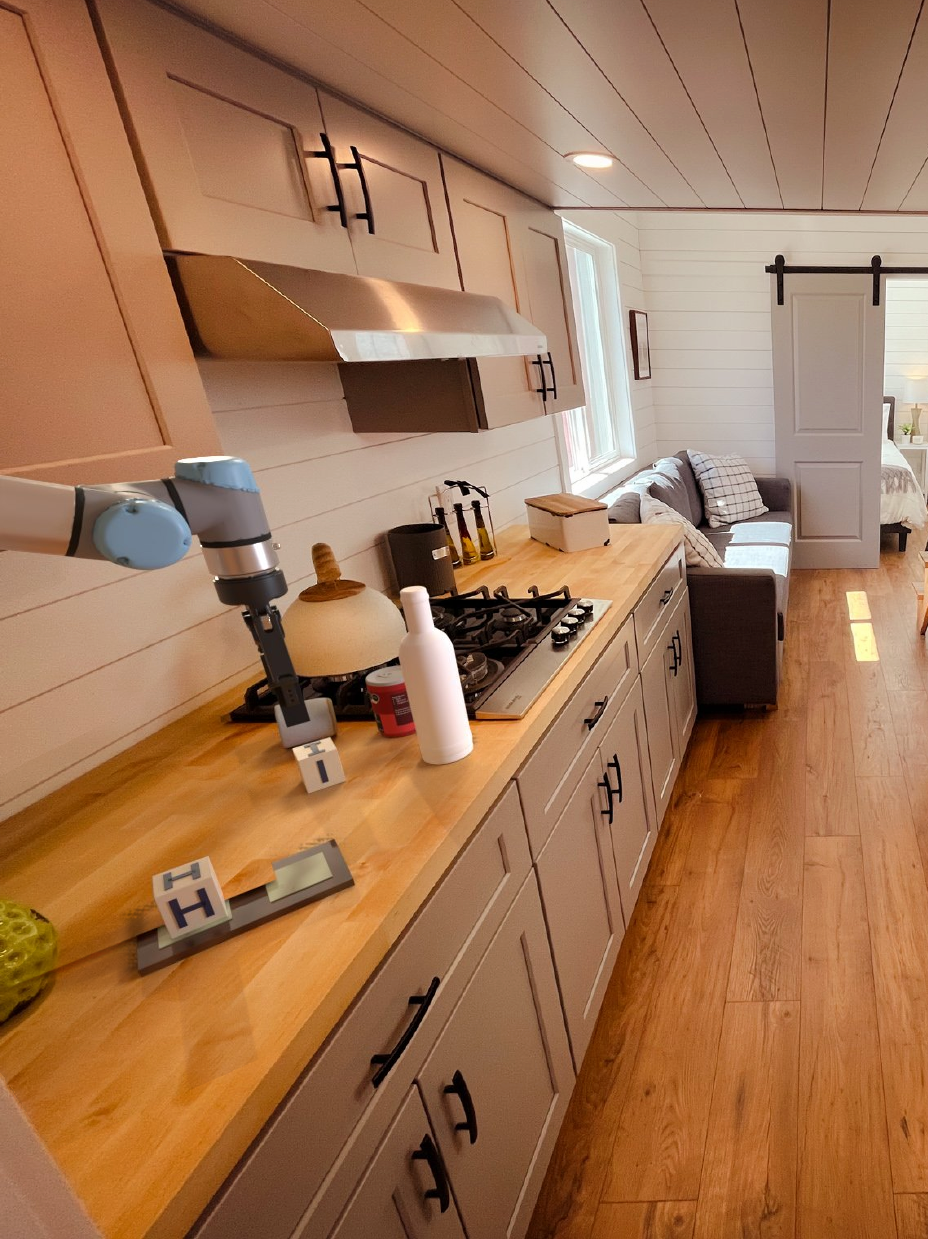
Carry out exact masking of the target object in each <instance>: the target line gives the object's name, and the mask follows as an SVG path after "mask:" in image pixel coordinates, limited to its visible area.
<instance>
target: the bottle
mask: <svg viewBox="0 0 928 1239" xmlns="http://www.w3.org/2000/svg"><path fill="white" fill-rule="evenodd" d="M399 595H400V598H399V601H400V603H401V604H402V609H403V613H404V618H405V621H406V622H405V623H406V627H407V631H408V632H406V634H405V635H404V636H403V637H402V638H401V640H400V642H399V647H398V654H397V656H398V660H399V664H400V665H399V666H401V669H402V673H403V677H404V682H405V686H406V690H407V694H408V699H409V703H410V707H411V711H412V716H413V720H414V724H415V728H416V732H415V734H416V736H417V740H418V748H419V752H420V754H421V758H422V761H424V762H425V763H427V764H430V765H434V766H435V765H436V766H438V765H439V766H440V765H441V766H442V765H448V764H451V763H454V762H457V761H460V760H462V759H464V758H465V757H467V756H468V755H469V754H471V753H472V751H473V749H474V742H473V734H472V730H471V728H470V723H469V717H468V713H467V708H466V702H465V697H464V693H463V688H462V684H461V679H460V678H461V677H460V674H459V669H458V664H457V658H456V654H455V649H454V644H453V643H452V641H451V639H450V638H449V636H448V634H447V633H445V632H444V631H442V630H440V629H438V628H437V627H436V626H435V625H434V624H435V623H434V619H433V614H432V609H431V605H430V604H431V603H430V600H429V599H430V595H429V593H428V591H427V588H426V587H425V586H421V585H414V586H407V587H404V588H402V589H401V590H400V591H399Z"/></svg>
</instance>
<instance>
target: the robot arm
mask: <svg viewBox="0 0 928 1239" xmlns="http://www.w3.org/2000/svg"><path fill="white" fill-rule="evenodd" d="M173 468H174V473H173V474H174V476H168V477H167V478H160V479H159V478H158V479H150V480H138V481H137V480H136V481H125V482H113V483H103V484H101V483H100V484H90V485H86V484H78V485H76V486H74V485H67V484H62V483H61V484H60V483H56V482H47V481H44V480H43V481H42V480H36V479H30V478H23V477H16V476H10V475H3V474H0V551H11V552H12V551H13V552H21V553H31V554H40V555H49V556H61V557H62V556H63V557H68V558H75V559H82V560H83V559H84V560H94V561H104V562H109V563H112V564H115V565H116V566H117V565H118V566H121V567H123V568H128V569H132V570H138V571H155V570H161V569H164V568H167V567H170V566H172V565H175V564H176V563H178V562H180V561H181V560H182V559H183V558H184V557H186V555H187V553H188V552H189V550H190V548H191V546H192V543H193V539H192V538H193V537H192V536H197V538H198V540H199V541H198V542H199V544H200V546H199V547H200V549H201V553H202V555H203V558H204V561H205V564H206V566H207V570H208V572H209V574H210V575H212V576H214V578H213V579H212V583H213V585H214V588H215V591H216V595H217V597H218V600H219V602H220V603H221V604H223V605H226V606H231V607H233V606H234V607H238V606H239V607H240V606H244V607H245V610H242V611H240V614H241V616H242V619H243V622H244V624H245V627H246V628H247V629H248V631H249V632H250V633H251V637H252V638H253V641H254V645H256V647H257V652H258V653H259V657H260V661H261V663H262V664H261V665H262V667H263V669H264V672H265V676H266V679H267V683H266V684H267V688H268V690H271V694H272V695H273V696H276V698H277V701H278V705H280V708H281V711H282V714H283V717H284V720H285V723H286V726H287V728H288V727H291V726H295V725H298V724H302V723H305V722H309V721H310V718H309V714H308V711H307V708H306V705H305V702H304V701H305V699H304V696H303V692H302V689H301V685H300V682H299V681H300V679H299V675H297V672H296V669H295V667H294V664H293V660H292V658H291V655H290V652H289V649H288V647H287V643H286V640H285V639H286V632H285V629H284V627H283V624H282V621H283V620H282V619H283V618H282V614H281V612H280V610H279V609H278V607H277V604H273V605H270V604H271V603H270V602H271V601H273V600H276V599H280V598H282V597H283V596H285V595H287V594H288V592H289V586H288V584H287V580H286V577H285V574H284V571H283V569H282V568H280V567H278V566H279V564H280V559H279V555H278V552H277V550H280V549H282V546H281V543H280V542H274V539H273V536H272V532H271V529H270V525H269V522H268V518H267V515H266V511H265V509H264V508H265V507H264V504H263V501H262V497H261V489H259V487H258V485H257V481H256V478H255V477H254V474H253V471H252V469H251V466H250V464H249V462H248V461H246V460H245V459H244V458H241V457H239V456H232V455H230V456H229V455H216V456H215V455H214V456H201V457H200V456H199V457H195V458H184V459H180V460H177V461H176V462H175V463H174V465H173Z"/></svg>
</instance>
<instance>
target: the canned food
mask: <svg viewBox="0 0 928 1239" xmlns="http://www.w3.org/2000/svg"><path fill="white" fill-rule="evenodd" d="M365 684H366V689H367V693H368V696H369V700H370V705H371V708H372V712H373V715H374V720H375V723H376V726H377V730H378V732H379V733H380V735H382V736H384V737H387V738H400V737H406V736H410V735H412V734H416V728H415V724H414V720H413V716H412V711H411V707H410V703H409V699H408V694H407V690H406V686H405V682H404V677H403V673H402V669H401V665H393V666H387V667H382V668H380V669H377V670H374V671H372V672H370V673H369V674H368V675H367V676H365Z"/></svg>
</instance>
